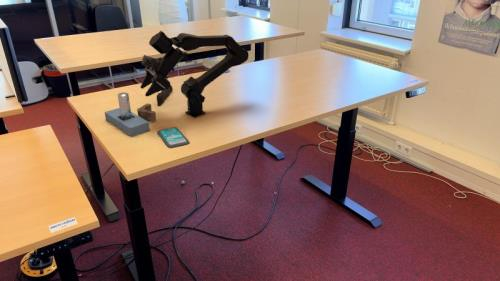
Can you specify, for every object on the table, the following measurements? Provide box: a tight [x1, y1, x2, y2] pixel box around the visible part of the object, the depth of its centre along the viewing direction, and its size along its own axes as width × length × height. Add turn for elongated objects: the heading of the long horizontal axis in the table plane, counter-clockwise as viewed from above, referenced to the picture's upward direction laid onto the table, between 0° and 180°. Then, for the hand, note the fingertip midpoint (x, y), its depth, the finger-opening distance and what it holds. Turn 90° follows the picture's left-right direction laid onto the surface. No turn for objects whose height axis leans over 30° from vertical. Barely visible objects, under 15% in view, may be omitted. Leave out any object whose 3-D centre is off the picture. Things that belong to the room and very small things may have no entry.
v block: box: [136, 103, 157, 123], centre depth 156 cm, size 6×11×4 cm, turn 25°
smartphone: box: [156, 126, 190, 149], centre depth 142 cm, size 9×1×15 cm
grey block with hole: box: [104, 107, 151, 137], centre depth 150 cm, size 20×8×4 cm, turn 45°
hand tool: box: [156, 84, 174, 107], centre depth 175 cm, size 19×4×5 cm, turn 174°
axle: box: [117, 92, 132, 121], centre depth 147 cm, size 4×4×13 cm
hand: (143, 91), depth 147 cm, fingers open, 9 cm apart
